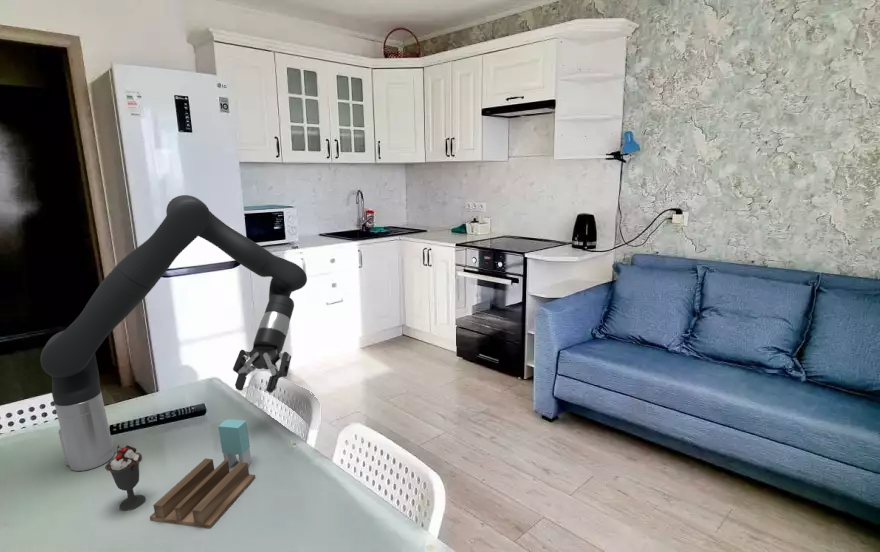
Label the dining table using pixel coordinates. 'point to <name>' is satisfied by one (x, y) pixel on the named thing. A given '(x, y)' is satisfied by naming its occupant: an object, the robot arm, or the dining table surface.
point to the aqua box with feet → (235, 441)
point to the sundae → (126, 475)
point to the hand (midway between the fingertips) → (253, 390)
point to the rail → (203, 494)
